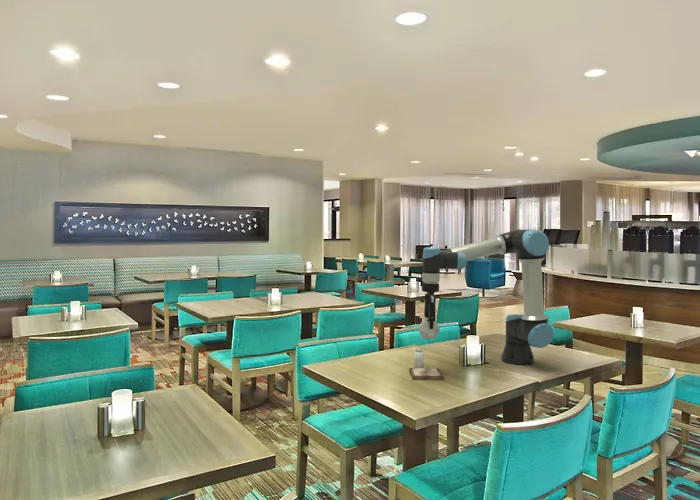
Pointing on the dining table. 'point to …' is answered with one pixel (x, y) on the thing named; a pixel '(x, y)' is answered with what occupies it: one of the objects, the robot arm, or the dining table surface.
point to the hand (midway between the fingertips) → (429, 334)
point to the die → (424, 329)
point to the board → (426, 374)
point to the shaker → (419, 358)
